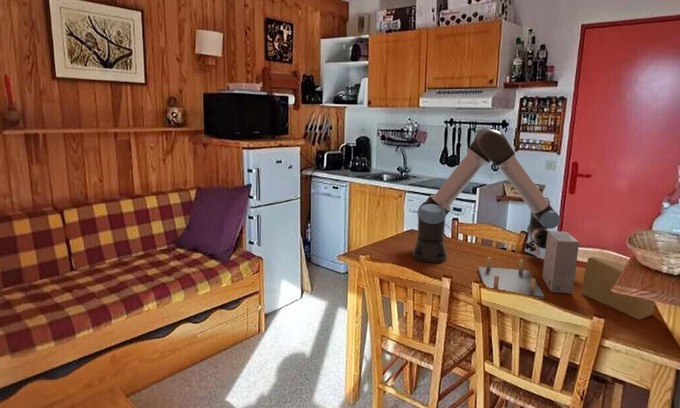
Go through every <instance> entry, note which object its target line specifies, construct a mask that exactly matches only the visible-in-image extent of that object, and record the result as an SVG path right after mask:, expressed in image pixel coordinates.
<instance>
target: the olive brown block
mask: <svg viewBox="0 0 680 408" xmlns="http://www.w3.org/2000/svg"><path fill="white" fill-rule="evenodd" d="M626 265H627V264H622V263H618V262H615V261H611V260H607V259H603V258H602V257H601V258H600V257H597V256H589V257H587V262H586V266H585V269H584V273H583V281H582V287H581V295H583V296H584V297H587V298H590V299H591V300H594V301H596V302H598V303H601V304H602V305H605V306H608V307H610V308H612V309H615V310H616V311H619V313H620V312H621V313H623V314H625V315H627V316H629V317H631V318H633V319H635V320H638V321H639V320H643V319H645V318H648V317H650V316H652V315H653V313H654V309H655V303H656V302H655V303H654V302H652V301H648V300H645V299H642V298H637V297H631V296H627V295H621V294H617V293H614V292H612V291H611V288H612V287H613V286H614V284H615V283H616V282H617V280H618V278H619V277H620V275H621V273H622V271H623V269H624V267H625V266H626Z"/></svg>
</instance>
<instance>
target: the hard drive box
mask: <svg viewBox="0 0 680 408" xmlns="http://www.w3.org/2000/svg"><path fill="white" fill-rule="evenodd" d="M579 245H580V242H579V240H577V239H576V238H575V237H574V236H573V235H572V234H570V233H569V232H568V231H561V230H560V231H559V230H548V233H547V242H546V249H545V251H544V260H543V267H542V268H543V270H542V280H543V281H544V283H545V285H546V286H547V288H548V289H549V291H550V292H551V293H557V294H558V293H560V294H571V295H573V292H574V284H575V277H576V269H577V261H578V253H579V247H580V246H579Z"/></svg>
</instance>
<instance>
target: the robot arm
mask: <svg viewBox="0 0 680 408" xmlns="http://www.w3.org/2000/svg"><path fill="white" fill-rule="evenodd" d="M491 162H492V164H493V165H494V167H497V168H499V169H500V171H501V172H502V173H503V175H504V176H505V177H506V179H507V180H508V181H509V183H510V184H511V185H512V186H513V188H514V190H515V191H516V192H517V193H518V195H519V196H520V197H521V199H522V200H523V201H524V204H526V206H527V207H528V208H529V209H530V217H529V224H528V226H527V227H526V230H527V231H526V232H527V234H528V236H529V240H527V241H526V242H525V246H524V247H525V250H528V249H529V251H530V252H532V253H533V252H534V253H535V254H536V256H540V252H541V249H545V250H546V242H547V233H548V231H549V230H548V229H555V228H556V227H558V226H559V225H560V222H561V218H560V215H559V214H558V213H557V212H556V211H555V209H553V207H552V206H551V201H550V200H549V198H545V196H544V194H543V193H542V192H541V191H540V188H538V186H537V185H536V184H535V182H534V181H533V179H532V178H531V177H530V175H529V174H528V173H527V171H526V170H525V169H524V167H523V166H522V164H521V163H520V162H519V160H518V158H516V152H515V151H514V149H513V148H512V146H511V145H510V142H509V141H508V139H507V138H506V135H505V134H504V133H502V132H501V131H499V130H496V129H495V128H484V129H482V130H480V131H478V133H477V134H476V135H475V137H474V139H473V141H472V142H471V143H470V145H469V146H468V148H467V154H466V155H465V157H464V158H462V160H461V162H460V163H459V164H458V165H457V166H456V168H455V169H454V170H453V172H452V173H451V174H450V176H449V177H448V178H447V179H446V180H445V181H444V183H443V184H442V186H440V188H439V189H438V190H437V192H436V193H435V194H430V196H429V197H428V198H427V199H426V200H425V201H424V202H423V203H421V205H420V206H419V207H418V209H417V221H418V222H417V238H416V242H415V245H414V248H413V250H412V258H413V259H414V260H416V261H418V262H421V263H422V262H423V263H430V264H434V263H436V264H437V263H443V262H445V261H446V260H447V259H448V257H447V256H448V253H447V249H446V247H445V227H446V225H445V224H446V216H447V215H448V214H450V212H451V205H452V204H453V203H454V201H456V199H457V198H458V197H459V196H460V194H461V193H462V192H463V190H464V189H465V188H466V186H468V185H469V183H470V182H471V181H472V179H473V178H474V177H475V176H476V174H477V173H478V172H479V171H480V170H481V168H482V167H483V166H484V165H487V164H490V163H491Z"/></svg>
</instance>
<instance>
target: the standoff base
mask: <svg viewBox="0 0 680 408" xmlns="http://www.w3.org/2000/svg"><path fill="white" fill-rule="evenodd" d="M486 259H487V260H486V266H485V267H484V266H478V269H477V270H478V274H479V277H480V281H481V283H482V282H483V283H484V284H485V285H486V286H487V287H489V288H494V289H500V290H506V291H511V292H516V293H521V294H525V295H529V296H533V297H537V298H540V299H544V300H545V294H544V293H543V290H541V288H540V286H539V284H538V283H537V281H536V278H534V276H533V275H532V274H531V271H530V269H529V270H528V269H527V270H526V269H524V264H525V261H524V259H519V263H518V264H519V265H518V269H517V268H516V269H511V268H503V267H502V268H500V267H492V257H487V258H486ZM540 299H539V300H540Z"/></svg>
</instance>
